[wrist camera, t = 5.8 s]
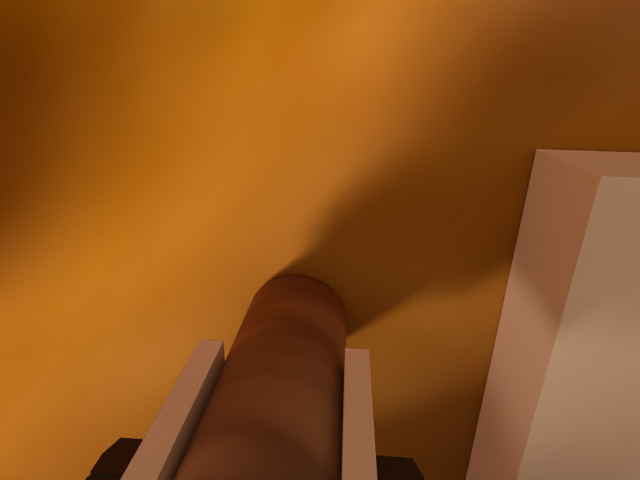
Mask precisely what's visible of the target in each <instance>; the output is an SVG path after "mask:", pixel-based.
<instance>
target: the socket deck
mask: <svg viewBox="0 0 640 480" xmlns="http://www.w3.org/2000/svg"><path fill="white" fill-rule="evenodd" d="M466 480H640V152H611V151H582V150H552V149H536V153H535V158H534V162H533V167H532V172H531V176H530V181H529V186H528V190H527V195H526V200H525V204H524V209H523V214H522V218H521V223H520V228H519V232H518V237H517V242H516V246H515V251H514V256H513V260H512V265H511V270H510V274H509V279H508V284H507V288H506V293H505V298H504V302H503V307H502V312H501V316H500V321H499V326H498V330H497V335H496V340H495V344H494V349H493V354H492V358H491V363H490V368H489V372H488V377H487V382H486V386H485V391H484V396H483V400H482V405H481V410H480V414H479V419H478V424H477V428H476V433H475V438H474V442H473V447H472V452H471V456H470V461H469V466H468V470H467V475H466Z"/></svg>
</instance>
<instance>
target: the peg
mask: <svg viewBox="0 0 640 480" xmlns="http://www.w3.org/2000/svg"><path fill="white" fill-rule="evenodd" d="M345 348H346V314H345V309H344V306H343V304H342V302H341V300H340V299H339V297H338V296H337V295H336V294H335V292H334V291H333V290H332V289H330V288H329V287H328V286H326V285H325V284H323V283H322V282H320V281H318V280H315V279H312V278H309V277H305V276H284V277H280V278H277V279H274V280H272V281H270V282H268V283H267V284H265V285H264V286H263V287H262V288H261V289H260V290H259V291H258V292H257V293H256V294H255V296H254V298H253V300H252V302H251V304H250V306H249V309H248V311H247V313H246V315H245V318H244V320H243V322H242V325H241V327H240V329H239V331H238V334H237V336H236V338H235V340H234V343H233V345H232V347H231V350H230V352H229V354H228V356H227V359H226V361H225V363H224V366H223V368H222V370H221V372H220V375H219V377H218V379H217V381H216V384H215V386H214V388H213V391H212V393H211V395H210V397H209V400H208V402H207V404H206V406H205V409H204V411H203V413H202V416H201V418H200V420H199V422H198V425H197V427H196V429H195V432H194V434H193V436H192V438H191V441H190V443H189V445H188V447H187V450H186V452H185V454H184V457H183V459H182V461H181V463H180V466H179V468H178V470H177V472H176V475H175V477H174V479H173V480H341V465H342V426H343V388H344V361H345Z"/></svg>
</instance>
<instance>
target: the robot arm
mask: <svg viewBox="0 0 640 480" xmlns="http://www.w3.org/2000/svg"><path fill="white" fill-rule="evenodd" d="M224 363H225V357H224V344H223V341H218V340H202V339H200V341H199V343H198V344H197V346H196V348H195V350H194V351H193V353H192V355H191V357H190V358H189V360H188V362H187V364H186V365H185V367H184V369H183V371H182V372H181V374H180V376H179V378H178V379H177V381H176V383H175V385H174V386H173V388H172V390H171V392H170V393H169V395H168V397H167V399H166V400H165V402H164V404H163V406H162V407H161V409H160V411H159V413H158V414H157V416H156V418H155V420H154V421H153V423H152V425H151V427H150V428H149V430H148V432H147V434H146V436H145V437H144V439H133V438H120V439H119V440H118V441H116V442H115V443H114V444H113V445H112V446H111V447H109V448H108V449H107V450H106V451H105V452H104V453H102V455H101V456H100V458H99V460H98V461H97V463H96V464H95V466H94V467H93V469H92V470H91V472H90V475H89V477H87V478H86V479H85V480H173V479H174V477H175V475H176V472H177V470H178V468H179V466H180V463H181V461H182V459H183V457H184V454H185V452H186V450H187V447H188V445H189V443H190V441H191V438H192V436H193V434H194V432H195V429H196V427H197V425H198V422H199V420H200V418H201V416H202V413H203V411H204V409H205V406H206V404H207V402H208V400H209V397H210V395H211V393H212V391H213V388H214V386H215V384H216V381H217V379H218V377H219V375H220V372H221V370H222V368H223V366H224ZM341 480H424V477H423V475H422V474H421V472H420V470H419V469H418V467H417V465H416V464H415V462H414V460H413V459H412V458H401V457H388V456H376V451H375V435H374V419H373V404H372V388H371V372H370V356H369V350H366V349H350V348H345V361H344V388H343V426H342V465H341Z"/></svg>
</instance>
